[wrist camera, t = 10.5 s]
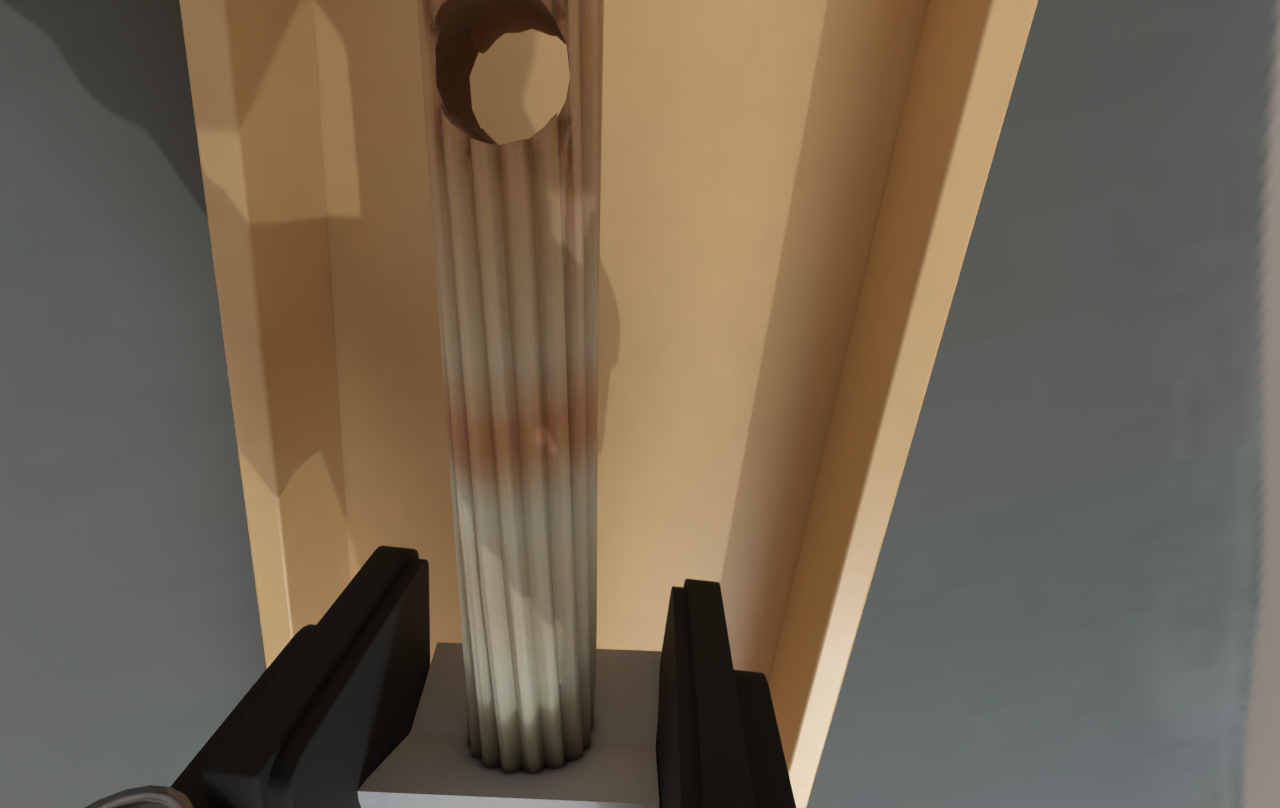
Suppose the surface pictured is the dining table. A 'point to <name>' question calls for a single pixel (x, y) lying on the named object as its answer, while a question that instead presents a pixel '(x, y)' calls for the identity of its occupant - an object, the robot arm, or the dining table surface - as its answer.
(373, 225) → the brush tray
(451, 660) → the folding fan
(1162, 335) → the dining table surface
